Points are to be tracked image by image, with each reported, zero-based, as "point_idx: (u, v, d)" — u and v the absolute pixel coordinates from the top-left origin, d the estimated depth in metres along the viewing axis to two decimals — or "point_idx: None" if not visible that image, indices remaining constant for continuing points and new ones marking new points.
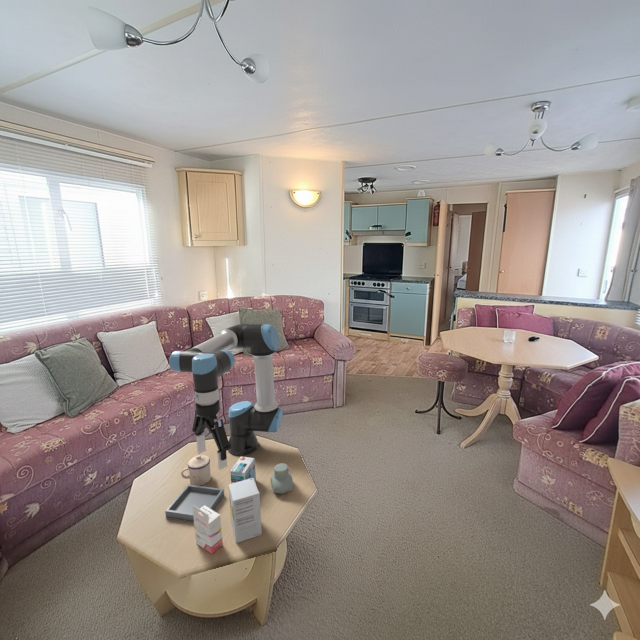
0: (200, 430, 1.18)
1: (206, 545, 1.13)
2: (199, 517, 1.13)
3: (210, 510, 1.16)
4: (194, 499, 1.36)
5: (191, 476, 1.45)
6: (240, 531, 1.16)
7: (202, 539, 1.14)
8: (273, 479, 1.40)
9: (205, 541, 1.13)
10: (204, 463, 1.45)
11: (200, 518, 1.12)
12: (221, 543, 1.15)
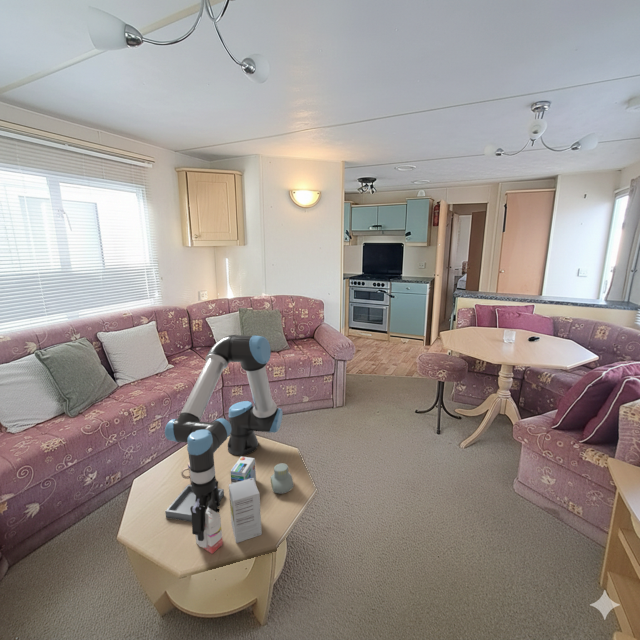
0: (209, 506, 1.17)
1: None
2: None
3: (210, 510, 1.16)
4: (194, 499, 1.36)
5: None
6: (240, 531, 1.16)
7: None
8: (273, 479, 1.40)
9: None
10: None
11: None
12: (221, 543, 1.15)
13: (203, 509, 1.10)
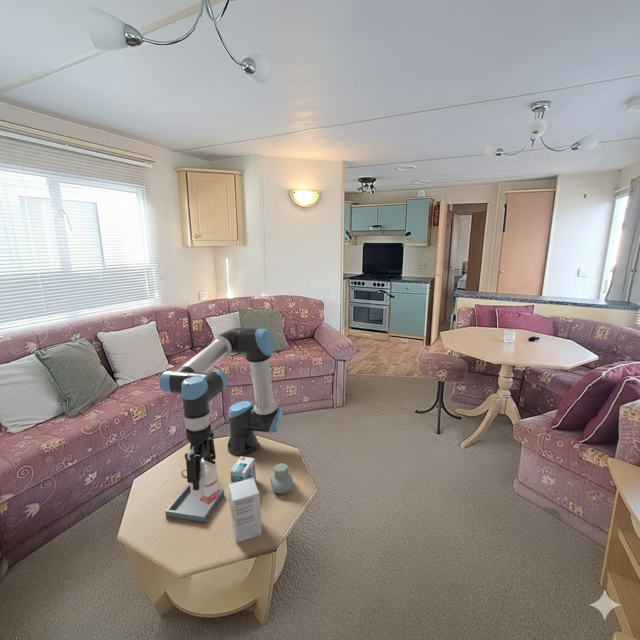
0: (205, 457, 1.14)
1: None
2: None
3: (205, 461, 1.13)
4: (194, 499, 1.36)
5: None
6: (240, 531, 1.16)
7: None
8: (273, 479, 1.40)
9: None
10: None
11: None
12: (217, 494, 1.12)
13: (198, 458, 1.07)
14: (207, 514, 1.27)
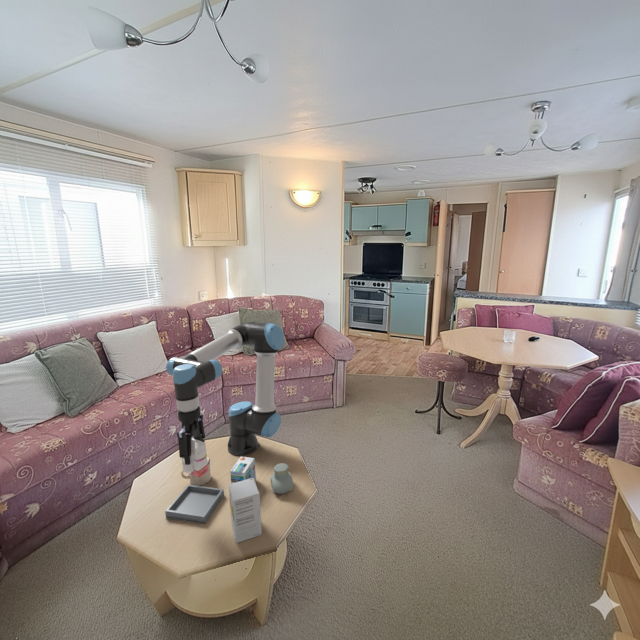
0: (195, 436, 1.27)
1: None
2: None
3: (195, 440, 1.26)
4: (194, 499, 1.36)
5: (191, 476, 1.45)
6: (240, 531, 1.16)
7: None
8: (273, 479, 1.40)
9: None
10: None
11: None
12: (207, 469, 1.26)
13: (189, 436, 1.21)
14: (207, 514, 1.27)
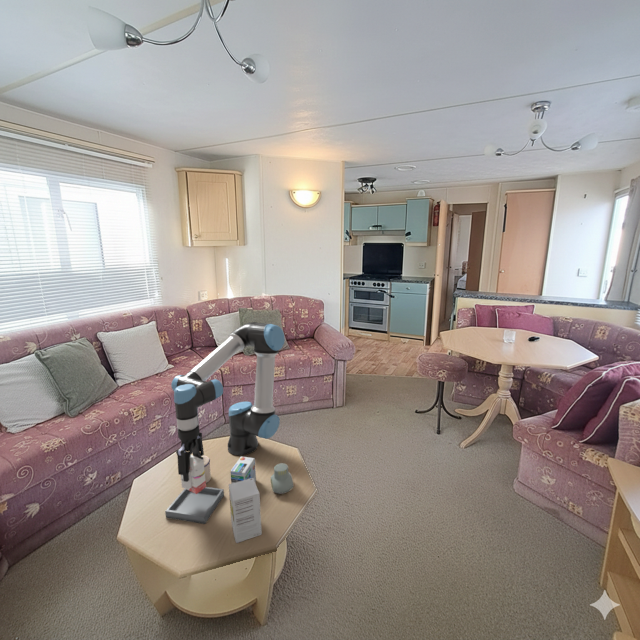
0: (194, 454, 1.32)
1: None
2: None
3: (194, 457, 1.31)
4: (194, 499, 1.36)
5: None
6: (240, 531, 1.16)
7: None
8: (273, 479, 1.40)
9: None
10: (204, 463, 1.45)
11: None
12: (204, 485, 1.31)
13: (188, 453, 1.26)
14: (207, 514, 1.27)
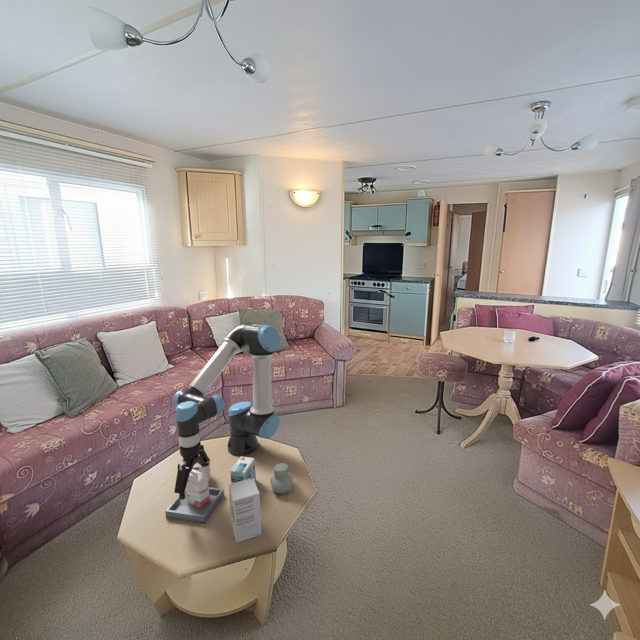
0: (199, 463, 1.36)
1: (196, 501, 1.32)
2: (189, 477, 1.31)
3: (198, 472, 1.34)
4: None
5: None
6: (240, 531, 1.16)
7: (192, 497, 1.32)
8: (273, 479, 1.40)
9: (195, 497, 1.31)
10: None
11: (190, 478, 1.31)
12: (208, 499, 1.34)
13: (188, 470, 1.26)
14: (207, 514, 1.27)
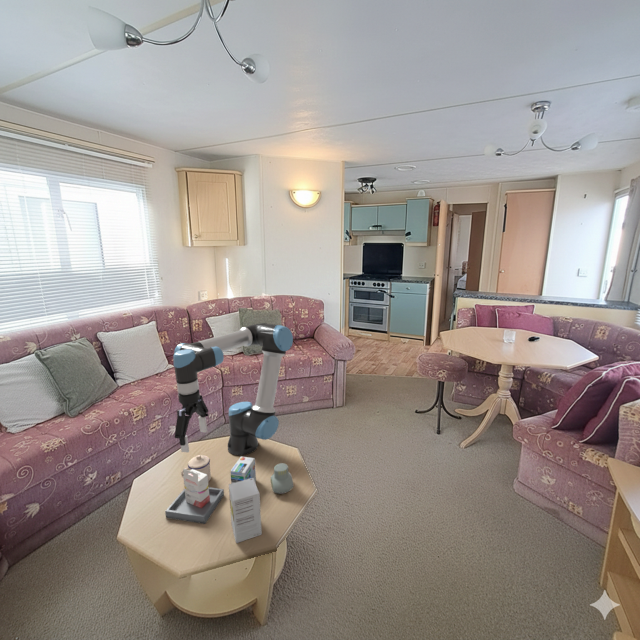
0: (198, 413, 1.36)
1: (196, 501, 1.32)
2: (189, 477, 1.31)
3: (198, 472, 1.34)
4: None
5: None
6: (240, 531, 1.16)
7: (192, 497, 1.32)
8: (273, 479, 1.40)
9: (195, 497, 1.31)
10: (204, 463, 1.45)
11: (190, 478, 1.31)
12: (208, 499, 1.34)
13: (187, 417, 1.26)
14: (207, 514, 1.27)
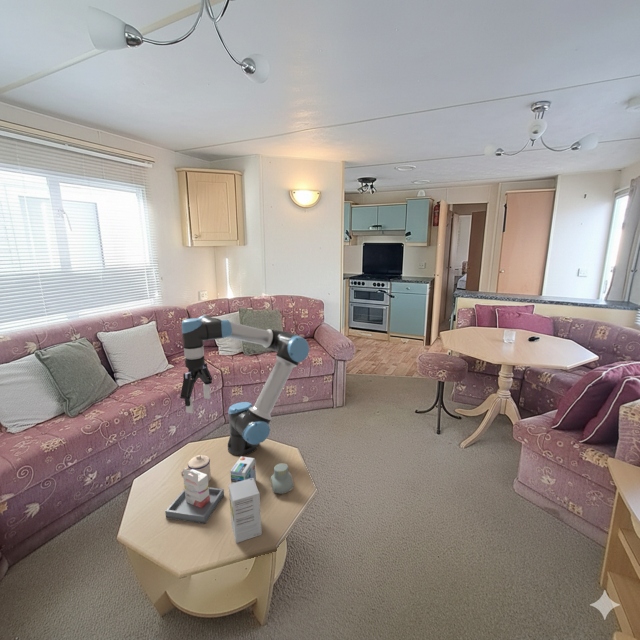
0: (202, 380, 1.46)
1: (196, 501, 1.32)
2: (189, 477, 1.31)
3: (198, 472, 1.34)
4: None
5: None
6: (240, 531, 1.16)
7: (192, 497, 1.32)
8: (273, 479, 1.40)
9: (195, 497, 1.31)
10: (204, 463, 1.45)
11: (190, 478, 1.31)
12: (208, 499, 1.34)
13: (193, 380, 1.37)
14: (207, 514, 1.27)
